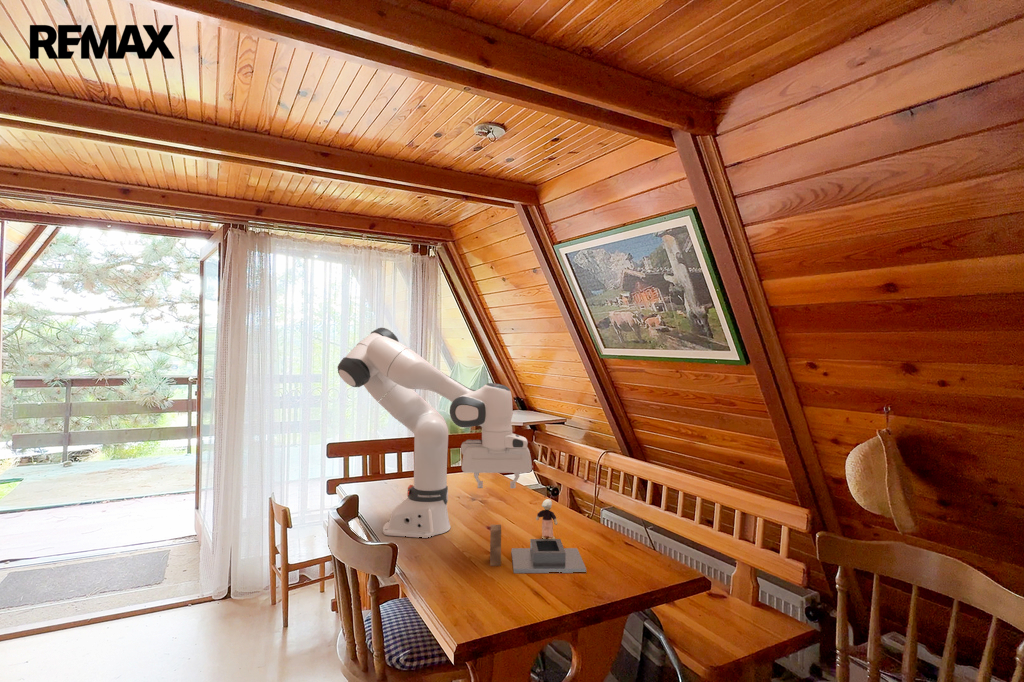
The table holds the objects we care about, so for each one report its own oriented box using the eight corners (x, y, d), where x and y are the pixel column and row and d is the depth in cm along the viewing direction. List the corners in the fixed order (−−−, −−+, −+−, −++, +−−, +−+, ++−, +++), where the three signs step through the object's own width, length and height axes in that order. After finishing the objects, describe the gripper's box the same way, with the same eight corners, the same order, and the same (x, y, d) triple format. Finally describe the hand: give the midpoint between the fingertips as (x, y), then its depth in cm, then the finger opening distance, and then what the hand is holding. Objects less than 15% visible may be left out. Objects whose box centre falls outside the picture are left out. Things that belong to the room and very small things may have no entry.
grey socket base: (513, 573, 147) (514, 555, 147) (511, 552, 162) (511, 536, 162) (586, 572, 148) (586, 555, 148) (577, 552, 163) (577, 536, 163)
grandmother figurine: (559, 537, 175) (560, 498, 175) (556, 541, 171) (557, 502, 171) (537, 534, 177) (537, 496, 178) (533, 538, 174) (534, 499, 174)
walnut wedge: (490, 565, 152) (490, 530, 152) (490, 558, 157) (490, 524, 157) (500, 565, 152) (501, 530, 152) (500, 558, 157) (500, 524, 157)
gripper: (460, 441, 151) (459, 490, 151) (532, 441, 152) (532, 490, 152) (461, 437, 157) (461, 484, 157) (530, 438, 158) (530, 485, 158)
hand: (496, 487), depth 154 cm, fingers open, 8 cm apart
